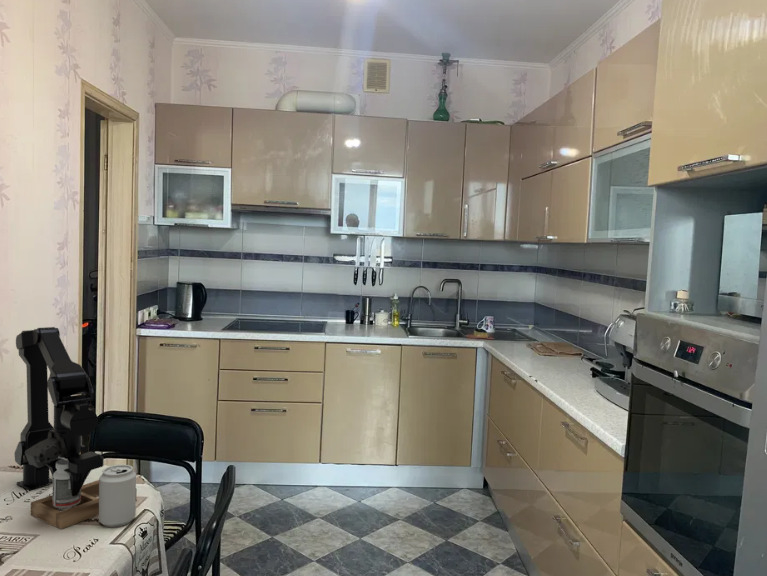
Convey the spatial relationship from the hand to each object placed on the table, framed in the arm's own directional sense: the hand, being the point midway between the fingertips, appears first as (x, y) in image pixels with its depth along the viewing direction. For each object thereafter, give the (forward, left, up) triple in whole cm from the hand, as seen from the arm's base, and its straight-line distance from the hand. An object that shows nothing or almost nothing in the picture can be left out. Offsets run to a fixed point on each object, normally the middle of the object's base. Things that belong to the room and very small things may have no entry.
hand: (67, 492), depth 132 cm
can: (+12, +4, -5) cm, 14 cm away
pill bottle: (0, 0, -3) cm, 3 cm away
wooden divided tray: (0, +4, -5) cm, 7 cm away
